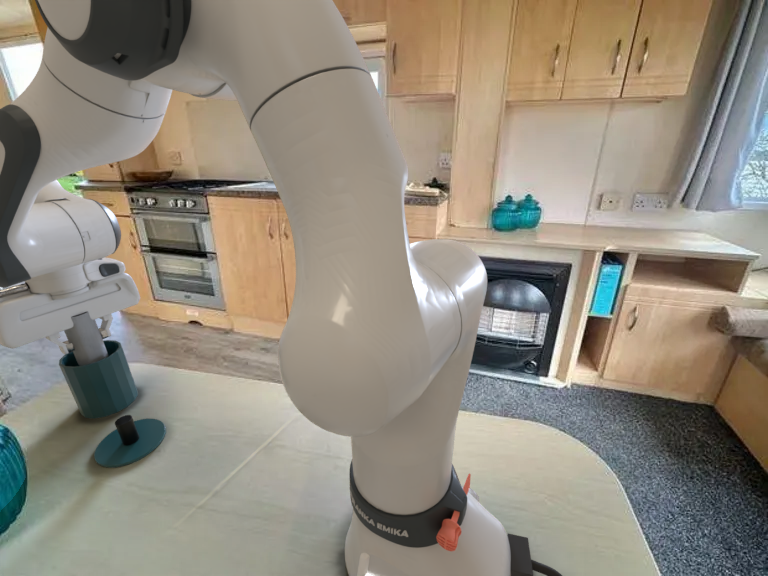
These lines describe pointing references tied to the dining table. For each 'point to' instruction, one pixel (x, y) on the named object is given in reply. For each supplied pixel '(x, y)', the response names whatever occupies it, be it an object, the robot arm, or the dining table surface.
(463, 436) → the dining table surface
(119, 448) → the lid
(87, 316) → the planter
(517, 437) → the dining table surface
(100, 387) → the pot
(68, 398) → the dining table surface
